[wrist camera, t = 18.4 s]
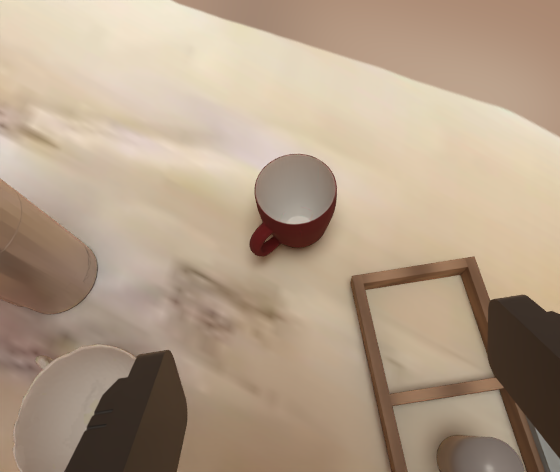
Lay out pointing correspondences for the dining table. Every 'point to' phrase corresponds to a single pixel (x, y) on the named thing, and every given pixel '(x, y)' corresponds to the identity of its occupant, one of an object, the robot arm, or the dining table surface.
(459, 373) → the dining table surface
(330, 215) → the mug
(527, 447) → the divider rack
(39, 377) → the teacup
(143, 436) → the robot arm
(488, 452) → the grey dome-topped cylinder
